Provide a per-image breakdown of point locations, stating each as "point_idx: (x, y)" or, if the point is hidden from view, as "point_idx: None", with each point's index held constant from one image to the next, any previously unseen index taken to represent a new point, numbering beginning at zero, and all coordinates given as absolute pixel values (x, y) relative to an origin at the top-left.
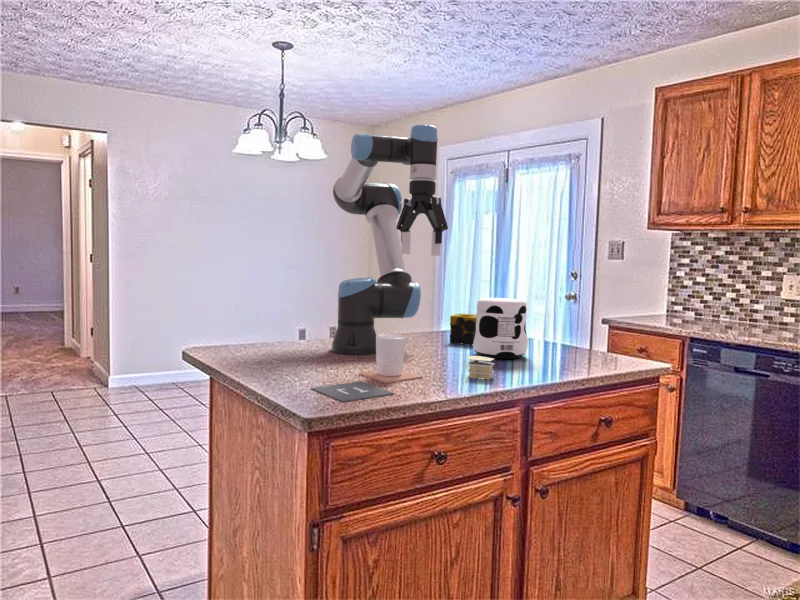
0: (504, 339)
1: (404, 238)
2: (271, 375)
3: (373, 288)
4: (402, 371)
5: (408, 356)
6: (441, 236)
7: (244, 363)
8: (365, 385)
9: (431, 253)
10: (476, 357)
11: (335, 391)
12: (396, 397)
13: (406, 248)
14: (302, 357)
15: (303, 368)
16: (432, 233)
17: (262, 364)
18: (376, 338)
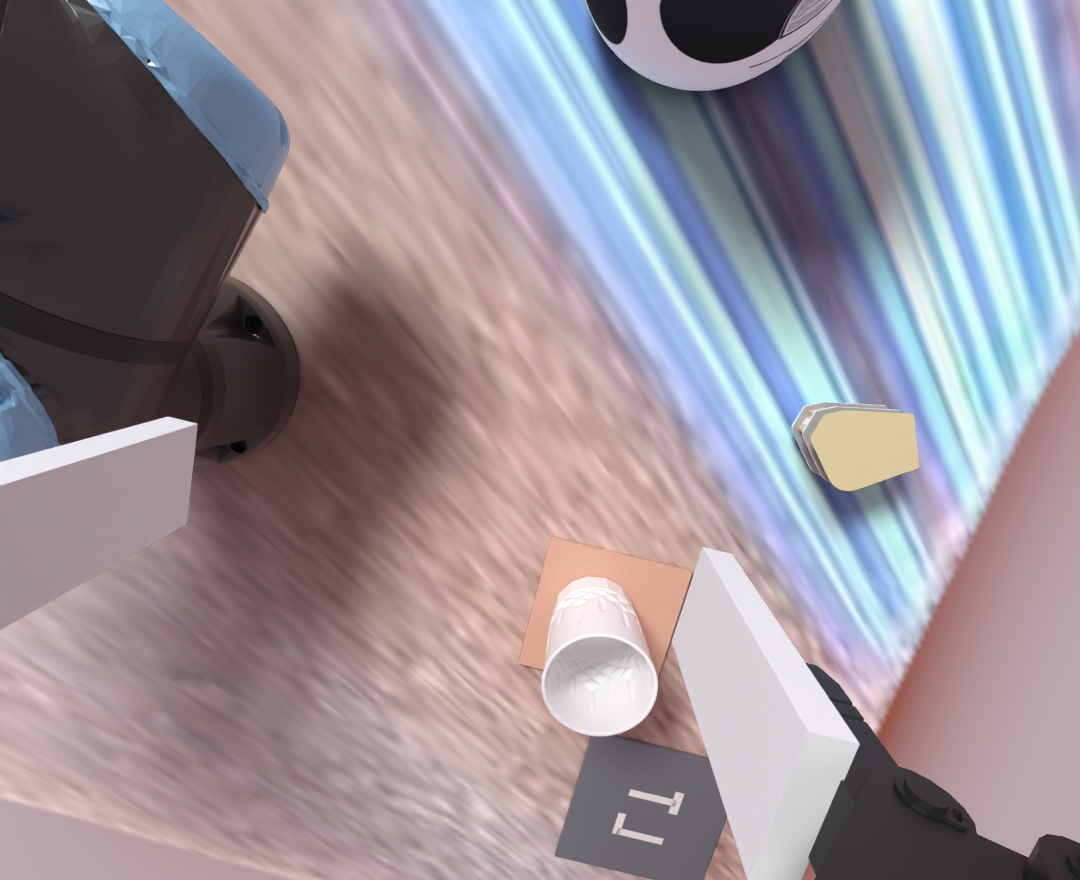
0: (810, 27)
1: (28, 596)
2: (364, 817)
3: (57, 384)
4: (600, 559)
5: (424, 301)
6: (878, 752)
7: (182, 770)
8: (635, 757)
9: (679, 655)
10: (844, 443)
11: (623, 844)
12: None
13: (147, 499)
14: (202, 596)
15: (346, 707)
16: (754, 862)
17: (225, 746)
18: (569, 724)
